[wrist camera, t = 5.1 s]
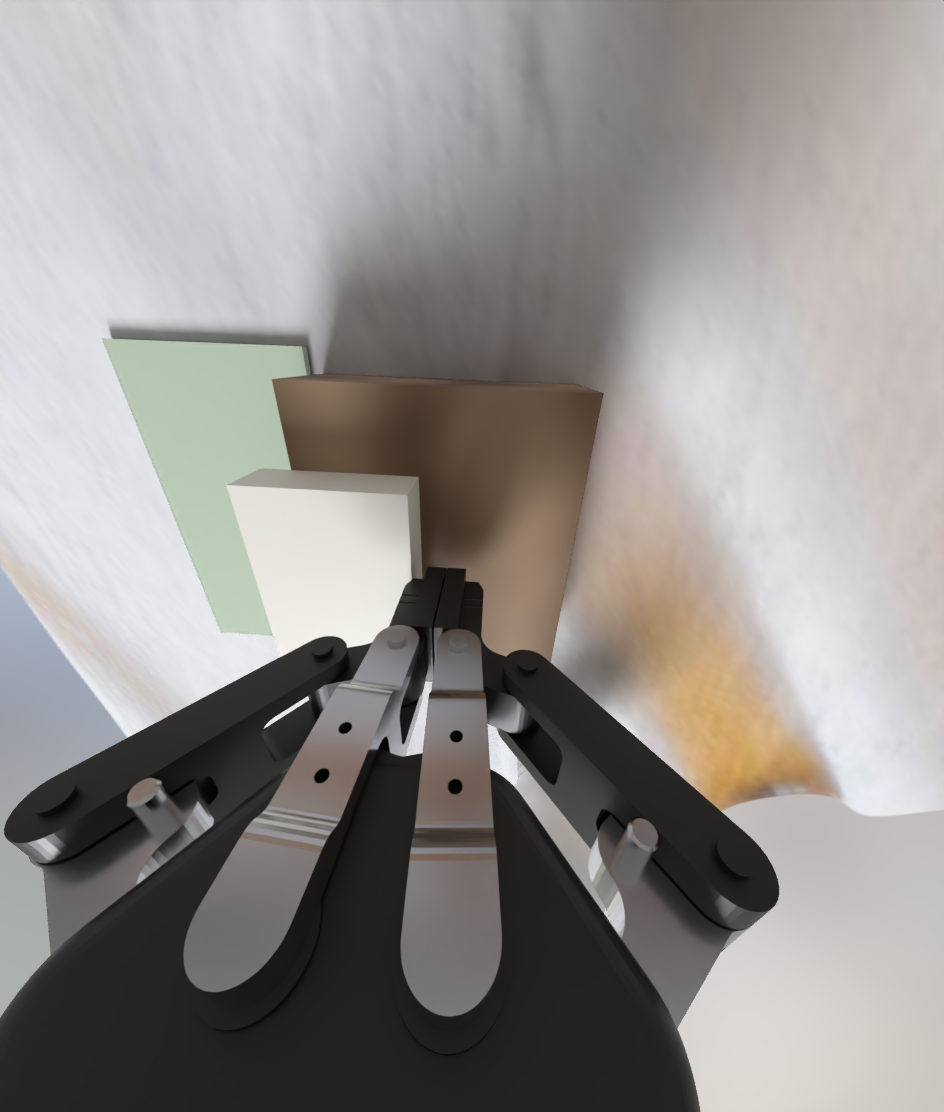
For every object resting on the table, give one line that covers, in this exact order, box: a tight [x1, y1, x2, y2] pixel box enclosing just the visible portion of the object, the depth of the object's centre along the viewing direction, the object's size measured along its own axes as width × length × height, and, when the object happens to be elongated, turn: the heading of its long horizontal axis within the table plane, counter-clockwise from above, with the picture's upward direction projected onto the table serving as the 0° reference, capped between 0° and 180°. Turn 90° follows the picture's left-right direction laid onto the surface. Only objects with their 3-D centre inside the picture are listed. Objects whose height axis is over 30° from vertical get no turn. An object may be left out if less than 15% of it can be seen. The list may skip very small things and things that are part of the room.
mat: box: [102, 338, 311, 636], centre depth 19 cm, size 8×16×1 cm, turn 178°
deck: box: [272, 374, 603, 682], centre depth 17 cm, size 11×14×4 cm
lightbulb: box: [515, 758, 605, 913], centre depth 22 cm, size 6×6×11 cm
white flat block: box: [226, 468, 422, 657], centre depth 14 cm, size 6×8×2 cm
